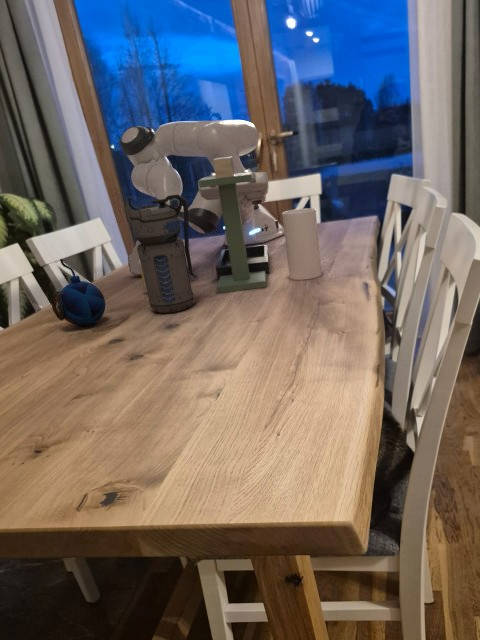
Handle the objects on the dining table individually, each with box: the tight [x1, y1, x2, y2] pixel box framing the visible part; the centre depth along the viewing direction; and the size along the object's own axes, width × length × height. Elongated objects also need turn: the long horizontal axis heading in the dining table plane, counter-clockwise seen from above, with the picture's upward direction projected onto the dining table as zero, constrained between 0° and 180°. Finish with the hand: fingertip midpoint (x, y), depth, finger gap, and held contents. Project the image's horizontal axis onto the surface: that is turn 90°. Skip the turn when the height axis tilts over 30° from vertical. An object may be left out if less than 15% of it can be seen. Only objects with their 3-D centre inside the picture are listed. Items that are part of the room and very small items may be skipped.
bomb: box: [50, 258, 106, 327], centre depth 126 cm, size 10×11×15 cm
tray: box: [215, 244, 271, 281], centre depth 166 cm, size 26×14×3 cm, turn 3°
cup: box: [281, 207, 323, 281], centre depth 145 cm, size 8×8×16 cm
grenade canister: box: [124, 195, 198, 314], centre depth 129 cm, size 10×13×25 cm
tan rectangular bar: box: [213, 156, 235, 179], centre depth 141 cm, size 22×4×4 cm, turn 3°
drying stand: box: [198, 171, 267, 294], centre depth 142 cm, size 12×12×26 cm
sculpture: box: [127, 239, 141, 276], centre depth 176 cm, size 11×18×12 cm
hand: (230, 172), depth 161 cm, fingers open, 8 cm apart
